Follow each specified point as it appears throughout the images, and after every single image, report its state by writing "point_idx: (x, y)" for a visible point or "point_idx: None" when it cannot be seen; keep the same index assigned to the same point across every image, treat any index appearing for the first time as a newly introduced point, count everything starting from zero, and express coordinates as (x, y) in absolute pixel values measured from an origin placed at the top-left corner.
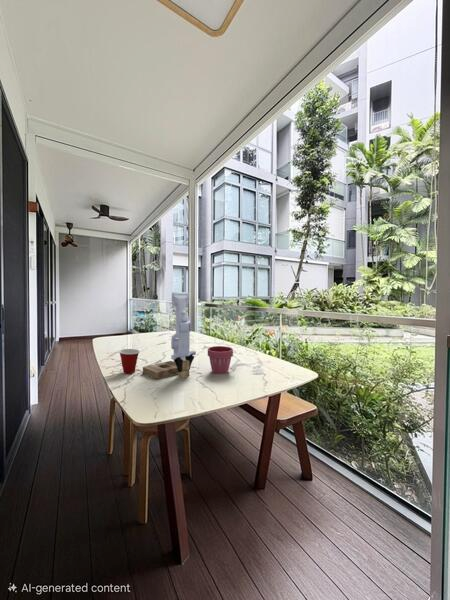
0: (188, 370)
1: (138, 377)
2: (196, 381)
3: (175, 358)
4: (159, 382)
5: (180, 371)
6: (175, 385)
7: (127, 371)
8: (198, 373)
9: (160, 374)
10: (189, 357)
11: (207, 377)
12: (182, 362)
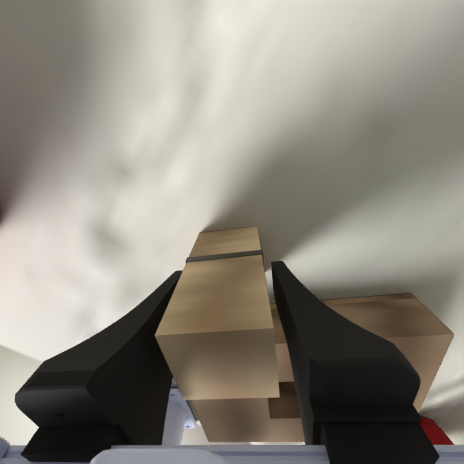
0: (199, 255)
1: (445, 367)
2: (216, 58)
3: (450, 454)
4: (450, 237)
5: (283, 262)
6: (437, 84)
7: (444, 434)
8: (116, 239)
9: (403, 317)
10: (119, 401)
11: (74, 102)
12: (273, 335)
